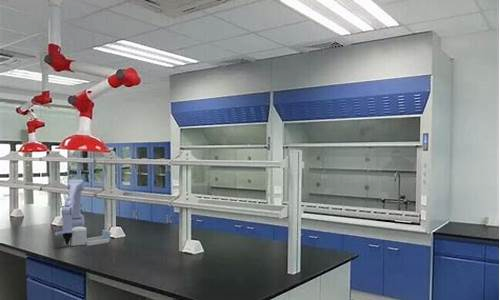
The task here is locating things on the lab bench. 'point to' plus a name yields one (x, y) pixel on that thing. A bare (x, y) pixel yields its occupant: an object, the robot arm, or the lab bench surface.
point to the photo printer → (78, 236)
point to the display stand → (99, 238)
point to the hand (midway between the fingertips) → (67, 244)
